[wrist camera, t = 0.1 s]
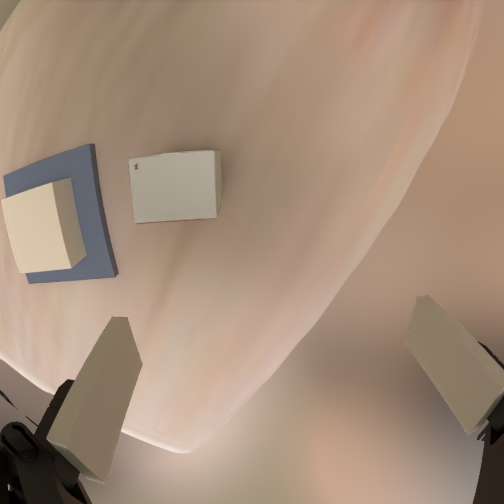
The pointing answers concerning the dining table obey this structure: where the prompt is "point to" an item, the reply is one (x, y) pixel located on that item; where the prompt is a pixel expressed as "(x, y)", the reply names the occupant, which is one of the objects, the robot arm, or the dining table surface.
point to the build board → (84, 206)
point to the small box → (176, 186)
